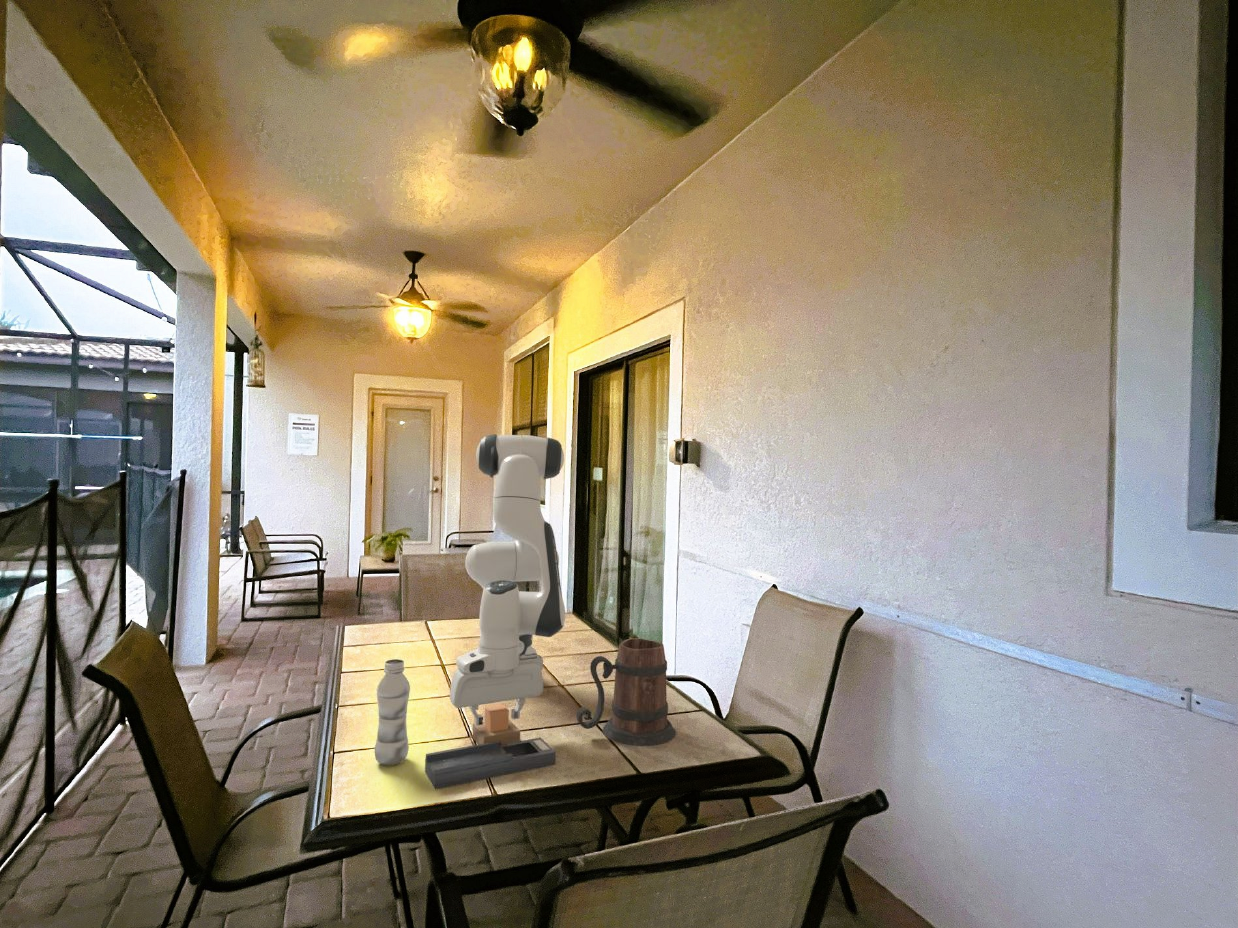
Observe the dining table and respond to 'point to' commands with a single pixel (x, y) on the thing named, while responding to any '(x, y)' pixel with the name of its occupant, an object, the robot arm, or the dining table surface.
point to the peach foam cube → (496, 718)
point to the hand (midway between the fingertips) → (497, 721)
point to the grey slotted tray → (486, 761)
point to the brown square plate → (496, 734)
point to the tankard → (634, 695)
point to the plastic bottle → (392, 714)
